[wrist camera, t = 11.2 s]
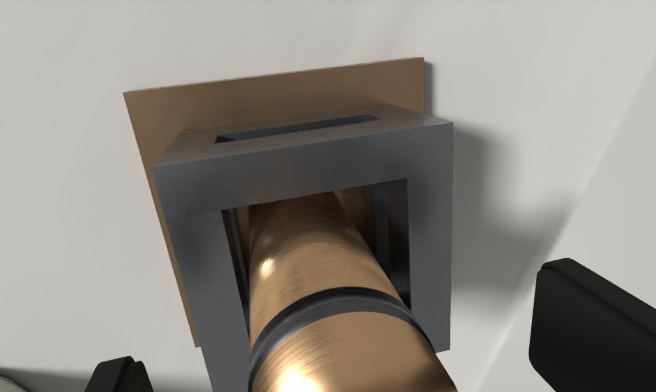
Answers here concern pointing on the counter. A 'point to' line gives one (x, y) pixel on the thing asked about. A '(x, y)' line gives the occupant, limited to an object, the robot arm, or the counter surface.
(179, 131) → the collar stand
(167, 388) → the counter surface
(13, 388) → the spray can
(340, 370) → the copper tube
